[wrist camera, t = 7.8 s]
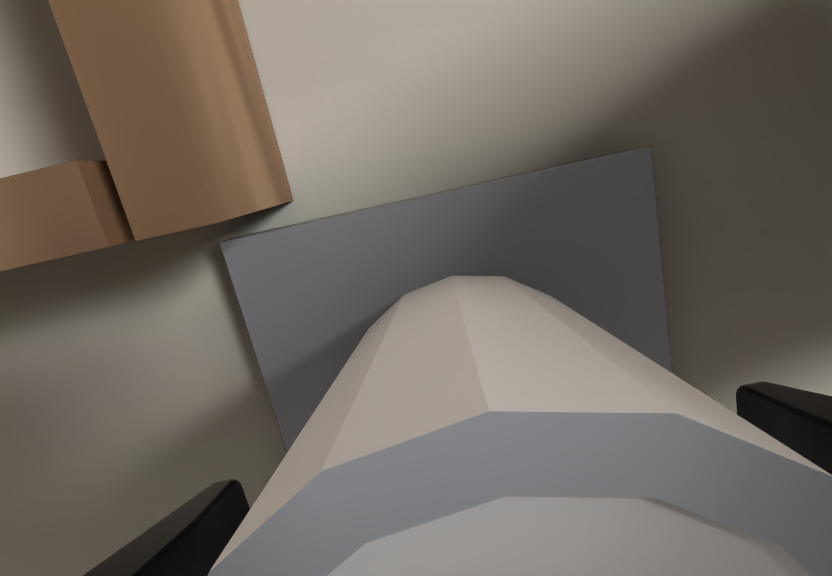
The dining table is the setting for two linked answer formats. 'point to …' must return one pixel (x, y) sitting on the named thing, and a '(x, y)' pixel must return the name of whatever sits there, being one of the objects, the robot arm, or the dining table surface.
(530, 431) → the white cup
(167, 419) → the dining table surface
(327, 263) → the coaster
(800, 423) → the robot arm
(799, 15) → the dining table surface
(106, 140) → the brown wooden u-shaped piece
